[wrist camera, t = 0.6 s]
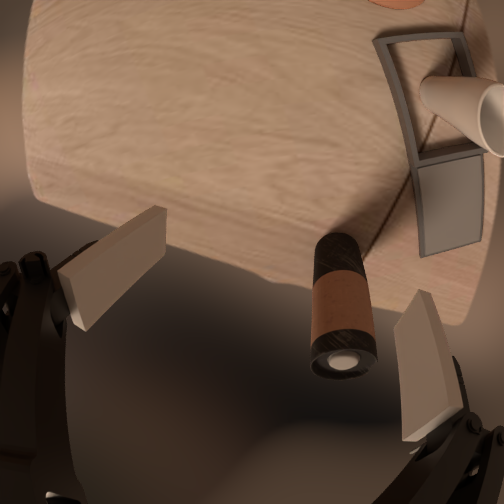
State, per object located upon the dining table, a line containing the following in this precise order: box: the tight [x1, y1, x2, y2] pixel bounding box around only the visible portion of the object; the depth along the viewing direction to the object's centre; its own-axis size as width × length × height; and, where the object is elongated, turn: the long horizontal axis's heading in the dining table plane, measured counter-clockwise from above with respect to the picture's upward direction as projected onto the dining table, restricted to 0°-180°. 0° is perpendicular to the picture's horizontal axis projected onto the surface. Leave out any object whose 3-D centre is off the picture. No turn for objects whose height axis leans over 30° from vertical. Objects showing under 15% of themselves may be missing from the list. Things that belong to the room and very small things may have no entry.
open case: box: [372, 32, 488, 258], centre depth 27 cm, size 33×13×2 cm, turn 25°
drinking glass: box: [419, 76, 504, 157], centre depth 18 cm, size 7×7×15 cm
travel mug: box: [310, 233, 378, 380], centre depth 34 cm, size 8×8×20 cm
